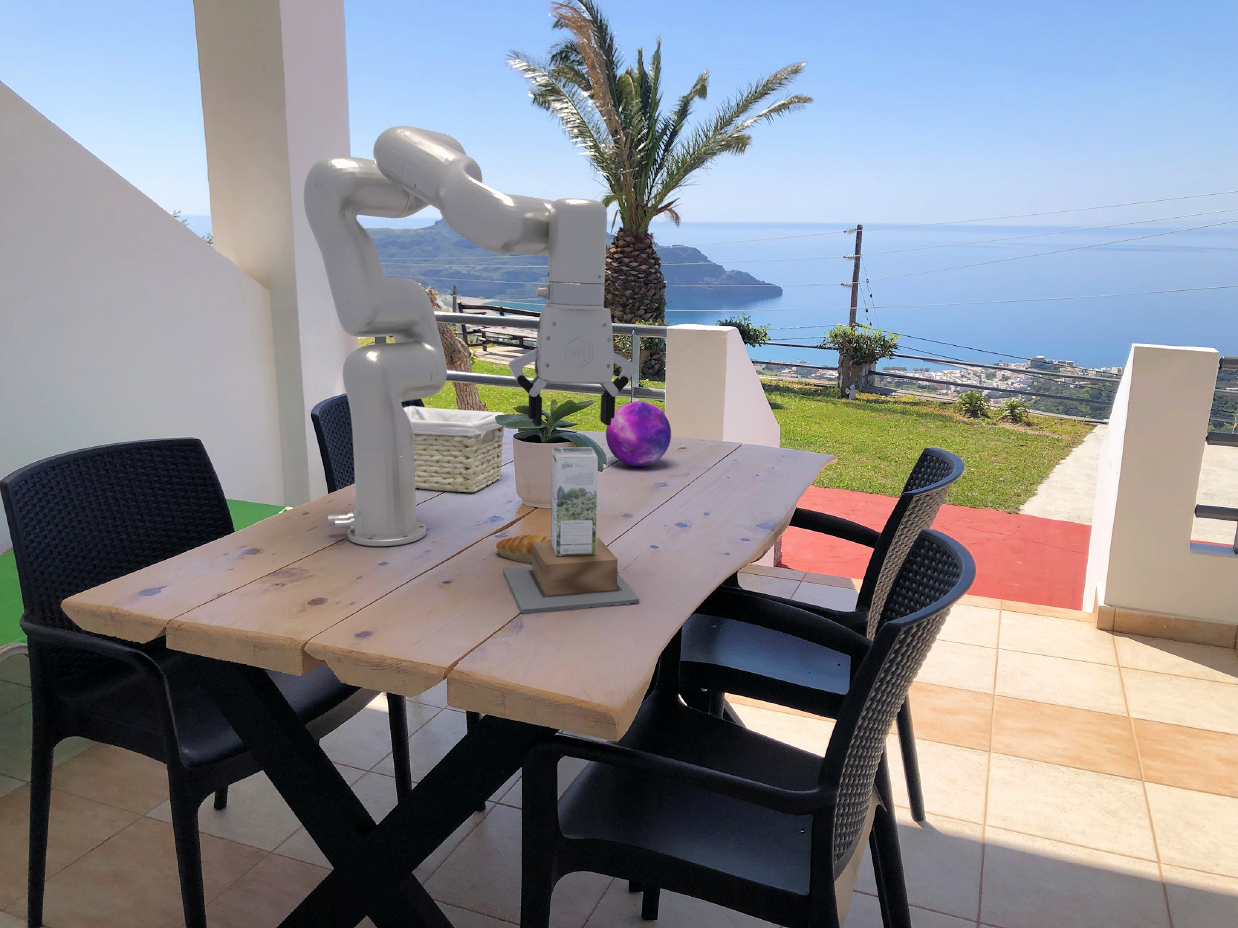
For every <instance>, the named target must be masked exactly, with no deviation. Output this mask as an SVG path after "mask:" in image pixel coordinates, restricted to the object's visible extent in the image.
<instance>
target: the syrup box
mask: <svg viewBox="0 0 1238 928" xmlns="http://www.w3.org/2000/svg"><path fill="white" fill-rule="evenodd" d="M598 468H599V457H598V456H597V453H596V452H595V450H594V449H593V447H592V446H586V447H582V446H579V447H576V446H575V447H552V448H551V517H550V518H551V522H550V524H551V526H550V527H551V528H550V532H551V534H550V536H551V543H552V546H553V549H554V552H555V554H556V556H579V555H595V554H596V538H597V511H598V510H597V508H598V506H597V505H598V503H597V502H598V473H599V472H598V471H599V470H598Z"/></svg>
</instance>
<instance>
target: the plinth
mask: <svg viewBox="0 0 1238 928" xmlns="http://www.w3.org/2000/svg"><path fill="white" fill-rule="evenodd" d="M618 560H619V559H618V558H617V557H616V555H615V554H614V553H613V552H612V551H611V550H610V549H609V548H608V546H606V544H605V543H604V542H603V540H601V539H600V537H596V554H595V555H579V556H556V554H555V552H554V549H553V546H552V543H551V541H547V542H532V563H531V565H532V566H531V567H532V571H533V573H532V571H531V570H530V571H528V572H531V573H532V574H533V575H532V574H531V573H530V575H531V576H532V577H533V576H534V577H533V578H532V579H533V581H534V579H535V581H536V582H535V581H534V583H535V585H536V587H538V588H537V589H538V591H540V594H542V593H544V594H545V595H546V596H545V595H544V594H542V595H543V597H542V598H544V597H549V596H550V597H552V595H555V596H556V595H562V596H565V595H566V594H568V596H570V595H571V594H572V595H574V593H577V594H576V595H582V594H591V593H592V592H593V593H598V592H599V593H604V592H617V591H616V590H617V589H618V591H621V589H620V587H619V586H618V585H617V572H618V566H619V565H618ZM537 581H538V582H539V583H538V582H537ZM538 584H539V585H538ZM540 587H541V588H540ZM539 589H541V590H539ZM619 589H620V590H619ZM542 590H543V591H544V592H543V591H542ZM614 590H615V591H614ZM586 592H588V593H586ZM578 593H579V594H578ZM580 593H581V594H580ZM542 595H541V596H542ZM555 596H554V597H555ZM556 597H558V596H556Z"/></svg>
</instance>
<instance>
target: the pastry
mask: <svg viewBox="0 0 1238 928" xmlns="http://www.w3.org/2000/svg"><path fill="white" fill-rule="evenodd" d="M547 541H551V535H549V536H547V535H546V536H545V535H542V534H536V533H529V534H521V535H517V536H515V537H509V538H506V539H502V540H500V541H498V542H496V544H495V548H496V549H497V552H498V555H499V556H501V557H503V558H507V559H510V560H512V561H515V562H522V563H528V564H532V542H547Z"/></svg>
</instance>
